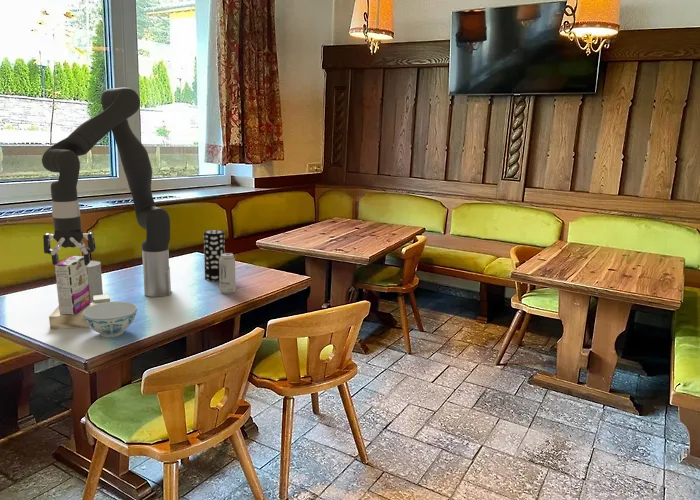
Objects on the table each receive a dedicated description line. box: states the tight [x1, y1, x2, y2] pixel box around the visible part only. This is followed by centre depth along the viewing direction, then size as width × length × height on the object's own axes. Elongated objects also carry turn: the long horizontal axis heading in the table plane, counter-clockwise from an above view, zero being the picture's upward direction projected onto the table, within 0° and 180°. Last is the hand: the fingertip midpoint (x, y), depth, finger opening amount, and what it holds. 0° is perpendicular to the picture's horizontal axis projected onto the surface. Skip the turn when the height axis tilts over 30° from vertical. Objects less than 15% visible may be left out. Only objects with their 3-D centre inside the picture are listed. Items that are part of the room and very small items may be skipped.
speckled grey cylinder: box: [87, 259, 104, 301], centre depth 194 cm, size 10×10×12 cm
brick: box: [92, 293, 111, 303], centre depth 181 cm, size 5×5×5 cm
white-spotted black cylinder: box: [203, 229, 226, 282], centre depth 220 cm, size 8×8×20 cm
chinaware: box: [83, 301, 138, 338], centre depth 162 cm, size 15×15×8 cm
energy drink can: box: [218, 252, 236, 295], centre depth 204 cm, size 6×6×15 cm
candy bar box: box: [53, 255, 92, 315], centre depth 168 cm, size 11×5×16 cm, turn 1°
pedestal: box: [48, 302, 100, 330], centre depth 171 cm, size 12×12×4 cm
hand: (71, 265), depth 167 cm, fingers open, 8 cm apart
